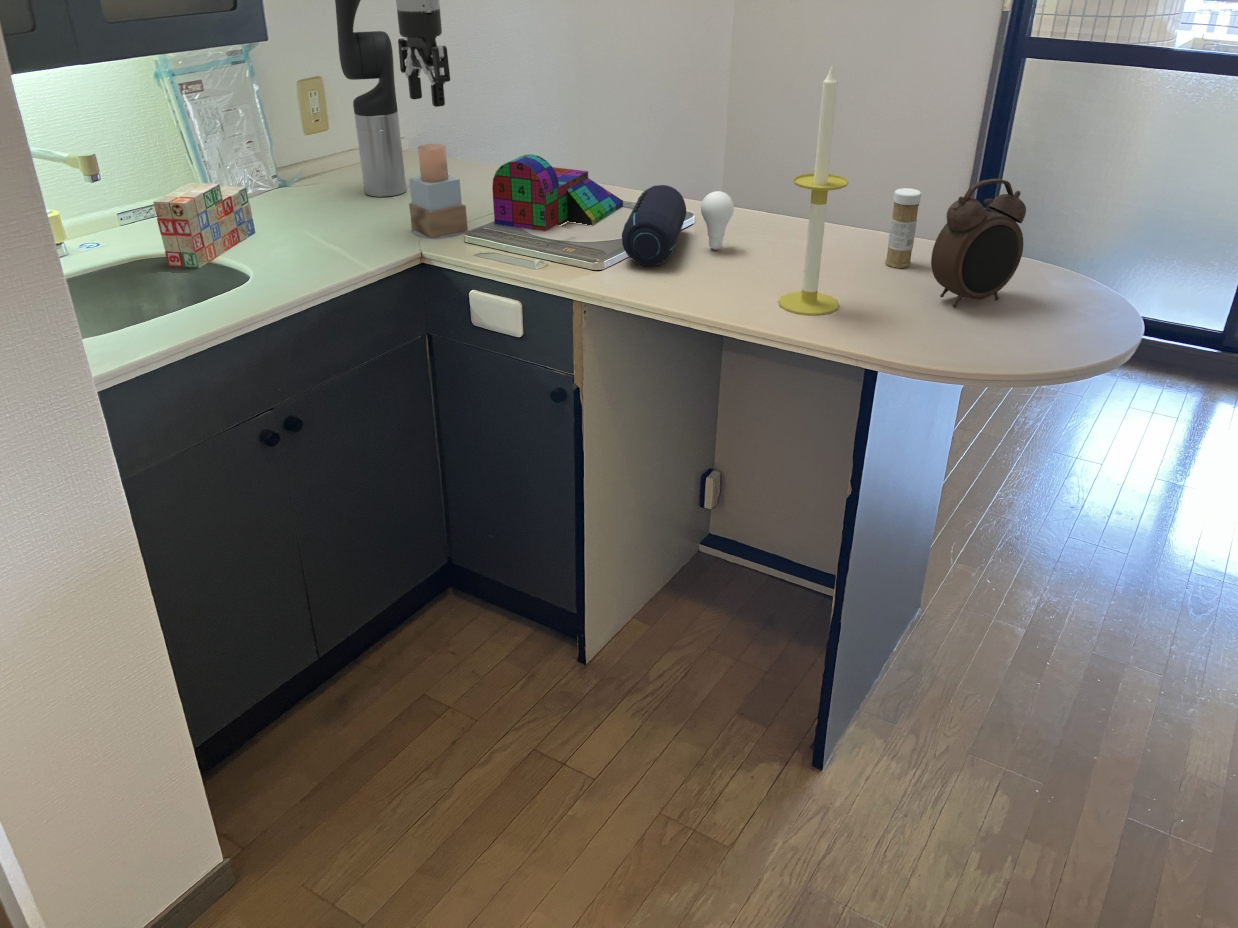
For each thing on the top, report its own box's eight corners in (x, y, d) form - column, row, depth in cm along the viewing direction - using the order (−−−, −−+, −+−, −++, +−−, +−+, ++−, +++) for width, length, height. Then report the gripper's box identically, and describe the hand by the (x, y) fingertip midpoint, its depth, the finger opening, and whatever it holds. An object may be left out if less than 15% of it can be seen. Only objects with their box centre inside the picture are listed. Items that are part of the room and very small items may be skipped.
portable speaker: (638, 228, 202) (638, 178, 197) (687, 231, 201) (689, 180, 196) (618, 271, 181) (618, 216, 176) (673, 273, 180) (674, 218, 175)
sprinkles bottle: (899, 259, 186) (909, 186, 179) (915, 266, 182) (927, 192, 175) (879, 263, 184) (889, 189, 177) (895, 270, 180) (906, 195, 174)
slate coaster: (402, 233, 200) (401, 228, 199) (450, 223, 206) (449, 218, 205) (429, 247, 193) (428, 242, 192) (478, 236, 198) (478, 231, 198)
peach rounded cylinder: (416, 178, 194) (412, 146, 191) (439, 174, 197) (436, 142, 194) (429, 184, 190) (426, 151, 187) (453, 179, 193) (450, 147, 190)
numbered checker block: (570, 241, 196) (568, 167, 189) (495, 230, 203) (490, 158, 195) (623, 207, 216) (622, 139, 209) (552, 198, 222) (550, 132, 215)
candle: (839, 317, 162) (868, 70, 143) (776, 313, 163) (796, 68, 144) (838, 295, 170) (865, 59, 151) (779, 291, 172) (798, 57, 153)
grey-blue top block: (412, 204, 197) (409, 178, 194) (443, 197, 200) (440, 172, 198) (430, 212, 192) (427, 185, 189) (461, 205, 196) (459, 179, 193)
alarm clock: (949, 315, 162) (971, 191, 152) (921, 300, 168) (940, 180, 158) (1020, 301, 167) (1045, 181, 157) (990, 287, 173) (1012, 170, 163)
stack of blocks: (227, 231, 202) (214, 169, 196) (256, 233, 201) (244, 171, 195) (167, 267, 184) (151, 200, 178) (199, 269, 183) (184, 202, 177)
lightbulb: (736, 247, 192) (739, 189, 186) (725, 256, 187) (728, 198, 182) (705, 243, 194) (708, 186, 189) (694, 252, 189) (696, 194, 184)
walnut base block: (411, 228, 199) (409, 203, 197) (447, 221, 204) (444, 196, 201) (431, 238, 194) (429, 213, 191) (467, 230, 198) (465, 205, 196)
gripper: (380, 5, 181) (391, 99, 189) (419, 12, 171) (428, 111, 180) (417, 2, 185) (426, 94, 193) (457, 9, 175) (464, 106, 184)
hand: (427, 102), depth 186 cm, fingers open, 8 cm apart
